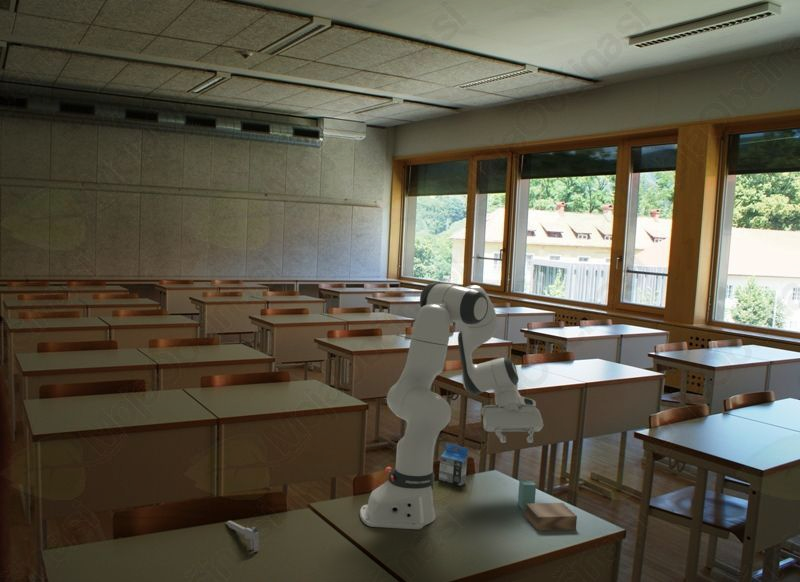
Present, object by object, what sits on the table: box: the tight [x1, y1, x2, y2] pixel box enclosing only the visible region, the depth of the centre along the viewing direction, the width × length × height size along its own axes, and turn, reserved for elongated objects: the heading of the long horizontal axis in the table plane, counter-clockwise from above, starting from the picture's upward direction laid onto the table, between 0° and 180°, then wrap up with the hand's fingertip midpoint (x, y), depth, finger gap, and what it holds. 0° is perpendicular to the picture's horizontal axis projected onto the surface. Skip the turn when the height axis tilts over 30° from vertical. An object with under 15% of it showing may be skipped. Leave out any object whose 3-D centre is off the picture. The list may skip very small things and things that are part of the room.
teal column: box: [517, 479, 537, 511], centre depth 214 cm, size 4×4×8 cm
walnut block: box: [524, 502, 578, 531], centre depth 203 cm, size 12×10×4 cm
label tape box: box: [438, 442, 468, 486], centre depth 233 cm, size 9×4×12 cm, turn 55°
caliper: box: [225, 520, 260, 553], centre depth 182 cm, size 20×1×6 cm, turn 35°
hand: (517, 441), depth 224 cm, fingers open, 8 cm apart
